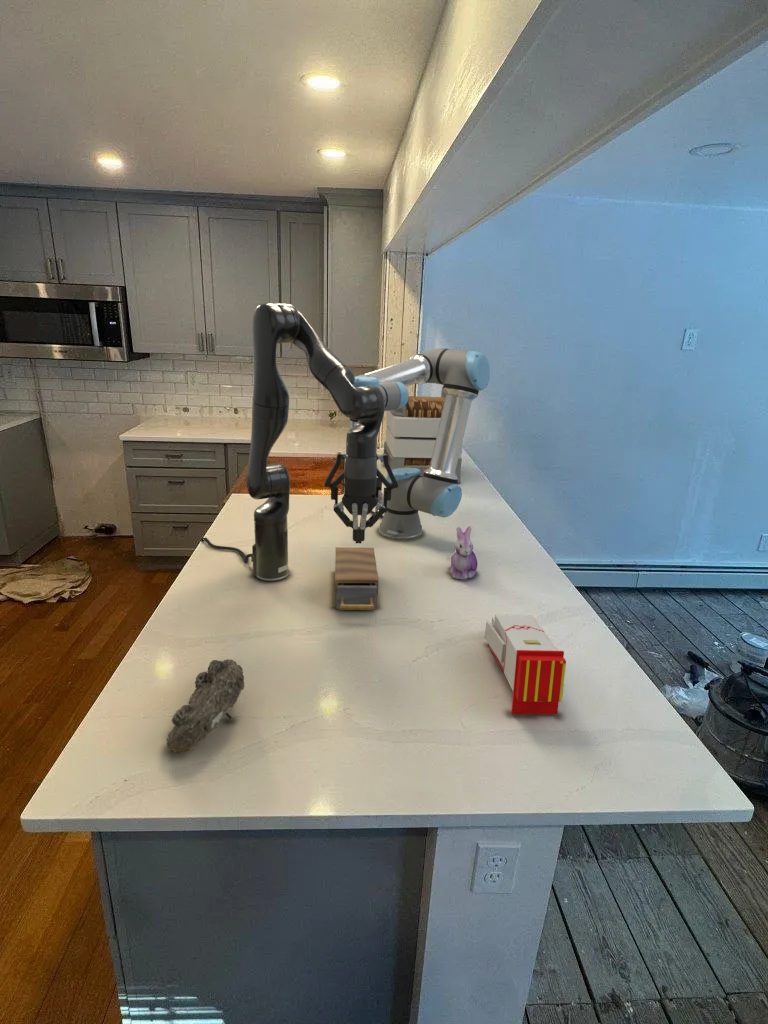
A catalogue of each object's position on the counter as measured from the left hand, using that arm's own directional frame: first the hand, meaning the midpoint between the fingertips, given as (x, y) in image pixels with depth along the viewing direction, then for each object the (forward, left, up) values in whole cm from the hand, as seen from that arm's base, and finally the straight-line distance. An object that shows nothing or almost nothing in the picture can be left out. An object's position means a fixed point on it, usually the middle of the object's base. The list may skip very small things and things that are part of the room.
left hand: (358, 542), depth 138 cm
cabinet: (-5, +15, -21) cm, 26 cm away
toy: (+41, -10, -21) cm, 47 cm away
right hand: (-7, +21, 0) cm, 23 cm away
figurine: (+22, +36, -21) cm, 47 cm away
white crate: (-17, +139, -21) cm, 142 cm away
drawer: (-3, +9, -20) cm, 22 cm away
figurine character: (-25, +93, -21) cm, 98 cm away
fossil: (-13, -44, -21) cm, 51 cm away
